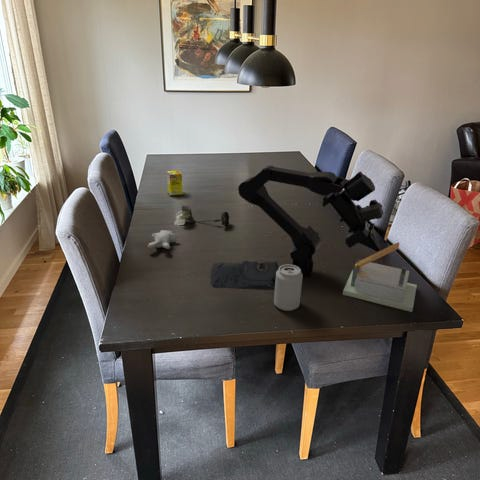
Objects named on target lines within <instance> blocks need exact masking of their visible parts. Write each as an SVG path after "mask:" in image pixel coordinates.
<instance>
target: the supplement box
mask: <svg viewBox="0 0 480 480" xmlns="http://www.w3.org/2000/svg"><path fill="white" fill-rule="evenodd" d="M166 182H167V194H168V195H169V197H170V198H171V197H173V198H174V197H183V174H182V172H181V171H180V170H168V171H166Z"/></svg>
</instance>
